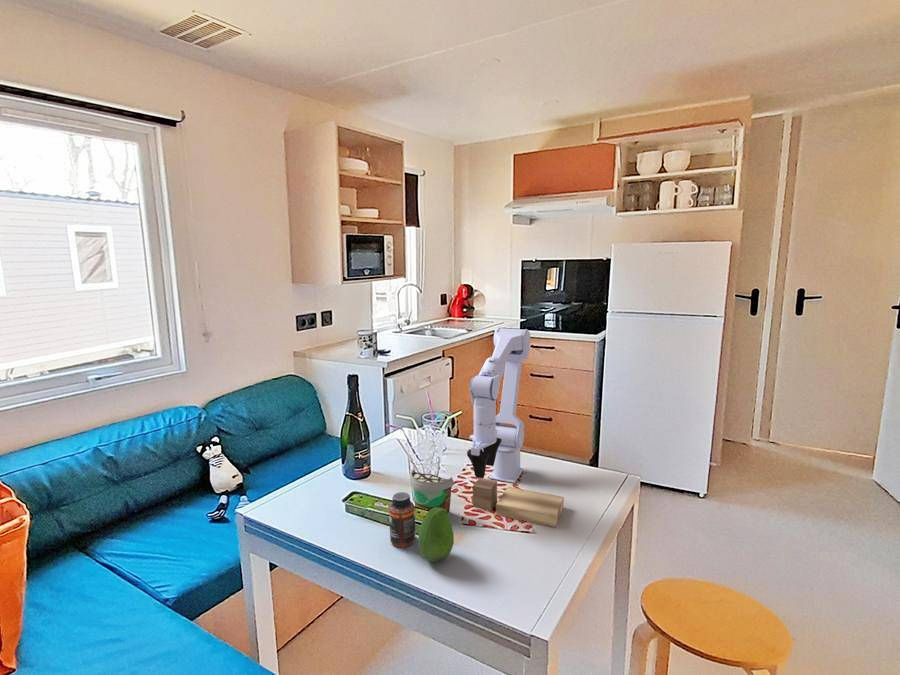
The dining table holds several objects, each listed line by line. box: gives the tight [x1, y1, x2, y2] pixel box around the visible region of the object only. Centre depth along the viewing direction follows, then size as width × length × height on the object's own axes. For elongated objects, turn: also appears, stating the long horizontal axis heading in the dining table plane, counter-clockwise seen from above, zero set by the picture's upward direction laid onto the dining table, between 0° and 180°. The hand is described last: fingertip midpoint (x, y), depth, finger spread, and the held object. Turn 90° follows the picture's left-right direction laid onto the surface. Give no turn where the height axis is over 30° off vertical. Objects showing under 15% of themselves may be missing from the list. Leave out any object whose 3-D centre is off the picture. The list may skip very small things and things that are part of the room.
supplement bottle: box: [388, 491, 417, 548], centre depth 114 cm, size 6×6×11 cm
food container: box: [408, 468, 455, 514], centre depth 126 cm, size 12×6×10 cm, turn 62°
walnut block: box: [472, 477, 498, 511], centre depth 131 cm, size 5×5×6 cm
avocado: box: [417, 508, 455, 563], centre depth 107 cm, size 8×8×12 cm
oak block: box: [495, 486, 565, 528], centre depth 127 cm, size 10×15×3 cm, turn 66°
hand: (484, 471), depth 129 cm, fingers open, 7 cm apart
